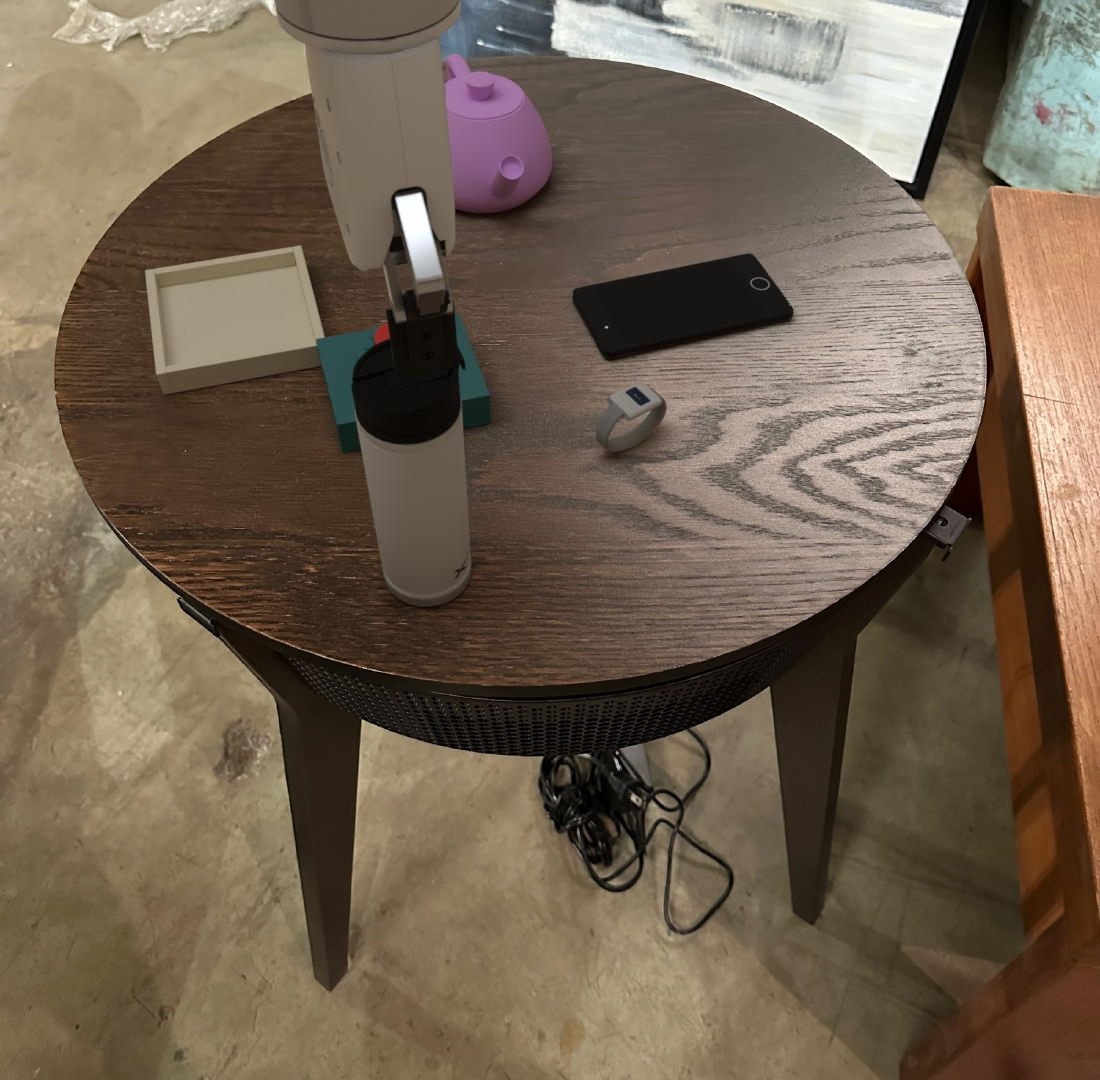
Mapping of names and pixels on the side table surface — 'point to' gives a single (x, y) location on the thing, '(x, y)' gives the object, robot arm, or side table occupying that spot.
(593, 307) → the cell phone
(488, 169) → the teapot
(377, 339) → the button
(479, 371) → the block
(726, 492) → the side table surface
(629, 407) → the wristwatch
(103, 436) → the side table surface
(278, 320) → the tray
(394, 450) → the travel mug
